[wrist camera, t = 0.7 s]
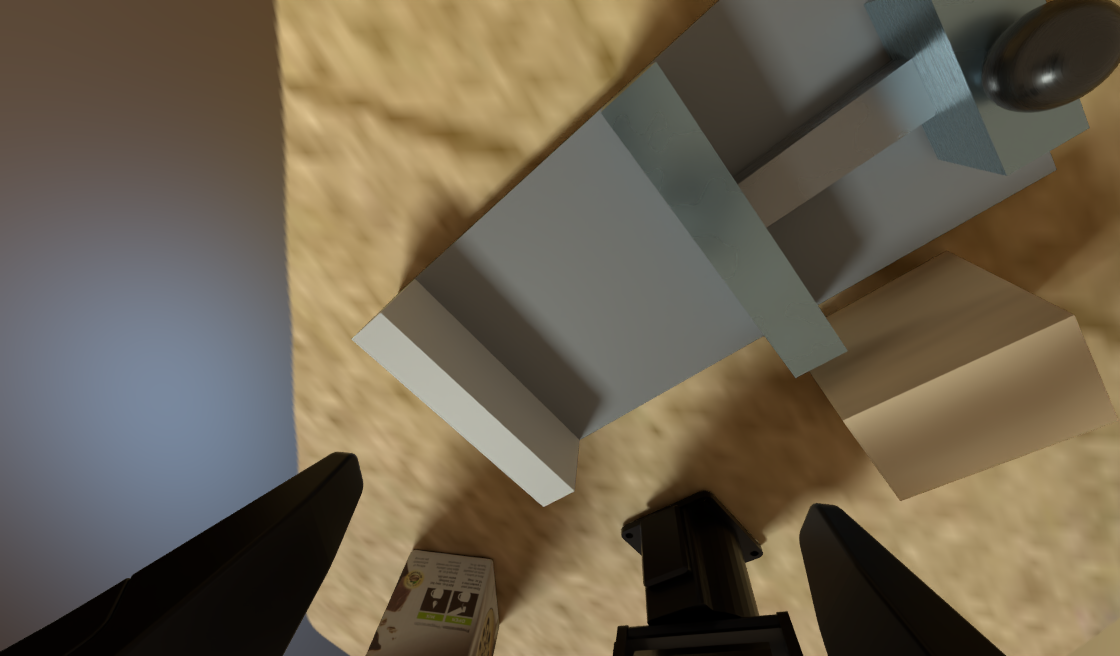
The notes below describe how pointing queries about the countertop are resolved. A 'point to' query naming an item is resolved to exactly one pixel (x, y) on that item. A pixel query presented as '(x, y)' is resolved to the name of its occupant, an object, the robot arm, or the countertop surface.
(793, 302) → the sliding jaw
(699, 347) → the vise bed
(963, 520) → the countertop surface
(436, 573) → the coffee box
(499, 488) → the countertop surface
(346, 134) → the countertop surface
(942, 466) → the oak block
